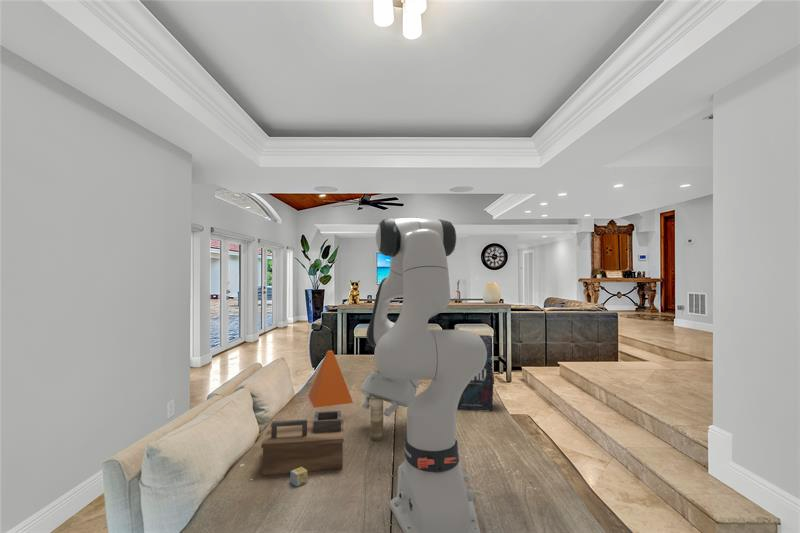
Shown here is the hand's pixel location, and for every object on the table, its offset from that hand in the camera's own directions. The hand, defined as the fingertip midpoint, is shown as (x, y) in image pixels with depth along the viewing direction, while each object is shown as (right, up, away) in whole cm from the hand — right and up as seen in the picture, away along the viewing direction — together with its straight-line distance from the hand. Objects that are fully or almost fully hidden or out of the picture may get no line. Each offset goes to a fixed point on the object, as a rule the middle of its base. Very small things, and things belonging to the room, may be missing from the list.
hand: (375, 411), depth 118 cm
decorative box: (+36, -9, +28) cm, 46 cm away
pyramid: (-21, -10, +37) cm, 44 cm away
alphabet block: (-17, -8, -25) cm, 32 cm away
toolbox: (-19, -8, -14) cm, 25 cm away
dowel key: (0, -8, 0) cm, 8 cm away
